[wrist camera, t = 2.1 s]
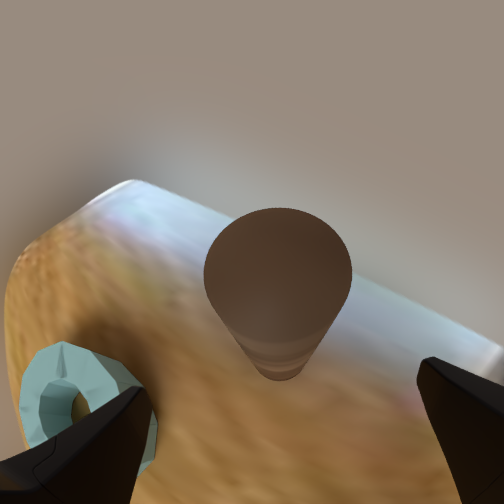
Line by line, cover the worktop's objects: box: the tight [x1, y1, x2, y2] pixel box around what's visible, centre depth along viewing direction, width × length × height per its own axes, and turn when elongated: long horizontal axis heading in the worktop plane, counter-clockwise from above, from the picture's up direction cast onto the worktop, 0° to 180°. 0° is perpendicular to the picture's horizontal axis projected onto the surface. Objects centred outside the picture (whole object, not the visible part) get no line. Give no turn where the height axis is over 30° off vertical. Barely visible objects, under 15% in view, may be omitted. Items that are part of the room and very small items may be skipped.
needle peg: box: [204, 208, 352, 381], centre depth 12 cm, size 4×4×13 cm
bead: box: [19, 341, 158, 477], centre depth 14 cm, size 11×11×4 cm
